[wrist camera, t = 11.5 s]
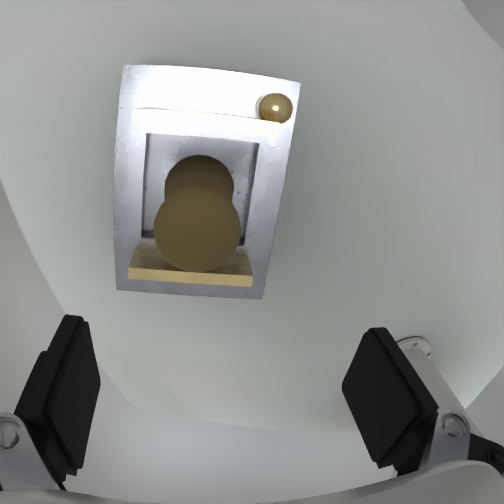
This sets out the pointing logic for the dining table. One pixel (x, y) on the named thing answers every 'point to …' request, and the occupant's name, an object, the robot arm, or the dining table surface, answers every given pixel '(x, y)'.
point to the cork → (197, 215)
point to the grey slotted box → (199, 143)
